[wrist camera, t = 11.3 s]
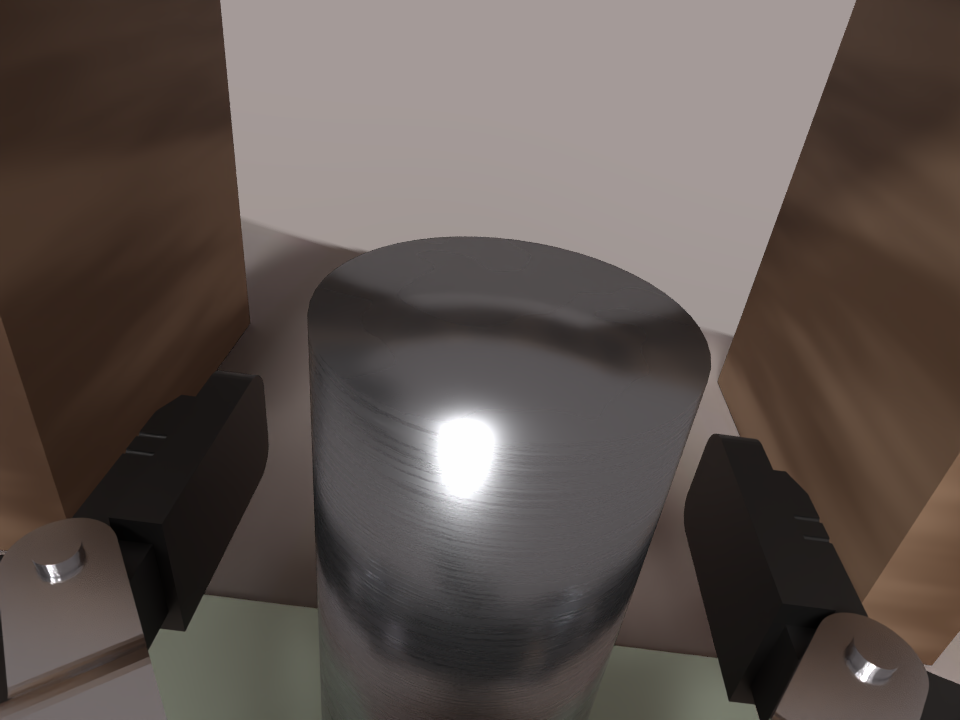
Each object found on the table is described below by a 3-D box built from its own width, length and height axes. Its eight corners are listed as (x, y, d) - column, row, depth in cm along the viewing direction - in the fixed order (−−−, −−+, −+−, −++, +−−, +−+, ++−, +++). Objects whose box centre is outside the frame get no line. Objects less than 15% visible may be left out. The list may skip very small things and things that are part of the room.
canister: (293, 905, 13) (242, 405, 6) (354, 666, 17) (360, 219, 11) (552, 940, 13) (761, 474, 6) (549, 692, 17) (673, 260, 11)
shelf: (-48, 574, 19) (-757, -879, 7) (195, 305, 32) (104, -337, 20) (950, 698, 19) (2008, -525, 7) (774, 377, 32) (1024, -220, 20)
